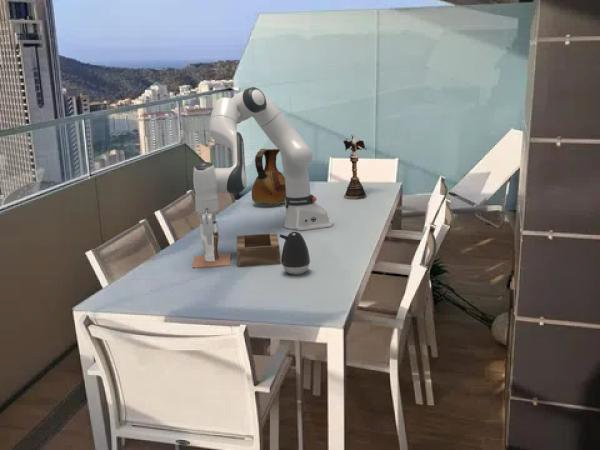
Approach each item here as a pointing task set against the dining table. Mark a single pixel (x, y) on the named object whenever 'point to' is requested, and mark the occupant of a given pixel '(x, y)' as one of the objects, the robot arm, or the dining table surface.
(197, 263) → the terracotta mat
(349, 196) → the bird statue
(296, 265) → the pump dispenser
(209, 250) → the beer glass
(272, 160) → the ceramic pitcher
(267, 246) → the walnut box
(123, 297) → the dining table surface
